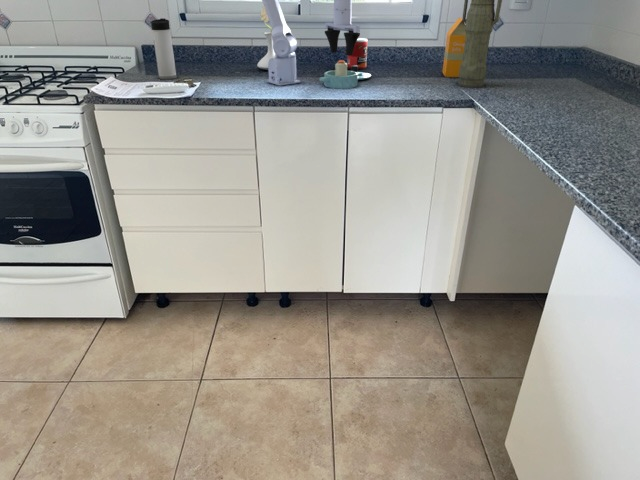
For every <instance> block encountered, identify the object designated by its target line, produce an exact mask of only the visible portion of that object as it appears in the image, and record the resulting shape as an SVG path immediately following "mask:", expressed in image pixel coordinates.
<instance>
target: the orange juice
mask: <svg viewBox="0 0 640 480" xmlns="http://www.w3.org/2000/svg"><path fill="white" fill-rule="evenodd" d="M462 21H463V17H458V18H457V19H456V21H455V22H454V23H453V24H452V26H451V27H450V28H449V30H447V32H446V39H445V47H444V55H443V65H442V74H443V76H444V77H445V78H459V69H460V65H461V63H462V59H463V52H464V44H465V37H466V32H465V26H466V24H465V22H462Z"/></svg>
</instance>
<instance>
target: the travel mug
mask: <svg viewBox="0 0 640 480" xmlns="http://www.w3.org/2000/svg"><path fill="white" fill-rule="evenodd" d="M150 25H151V31H152V32H151V33H152V34H151V35H152V40H153V45H154V53H155V59H156V65H157V72H158V78H159V80H174V79H176V78H177V69H176V63H175V62H176V61H175V54H174V47H173V40H172V39H173V38H172V32H171V27H170V20H169V19H166V18H163V17H162V18H159V19H152V20H151V21H150Z"/></svg>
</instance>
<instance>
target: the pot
mask: <svg viewBox="0 0 640 480" xmlns="http://www.w3.org/2000/svg"><path fill="white" fill-rule="evenodd" d="M359 72H360V71H358V72H354V71H351V70H347V76H335V69H334V70H328V71H324V74H323V76H322V77H319V81H320V82H323V84H324V85H323V86H324V87H326V88H330V89H339V90H340V89H342V90H343V89H353V88H356V87H357V86H358V84H359V80H358V76H362V73H359Z"/></svg>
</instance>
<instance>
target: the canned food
mask: <svg viewBox="0 0 640 480" xmlns="http://www.w3.org/2000/svg"><path fill="white" fill-rule="evenodd" d="M367 58H368V38H365V37H358V39H357V41H356V43H355V46H354V50H353V54H352V55H347V69H350V70H351V66H352V65H356V66H358V70H364V69H366V68H367V61H368V60H367Z"/></svg>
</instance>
